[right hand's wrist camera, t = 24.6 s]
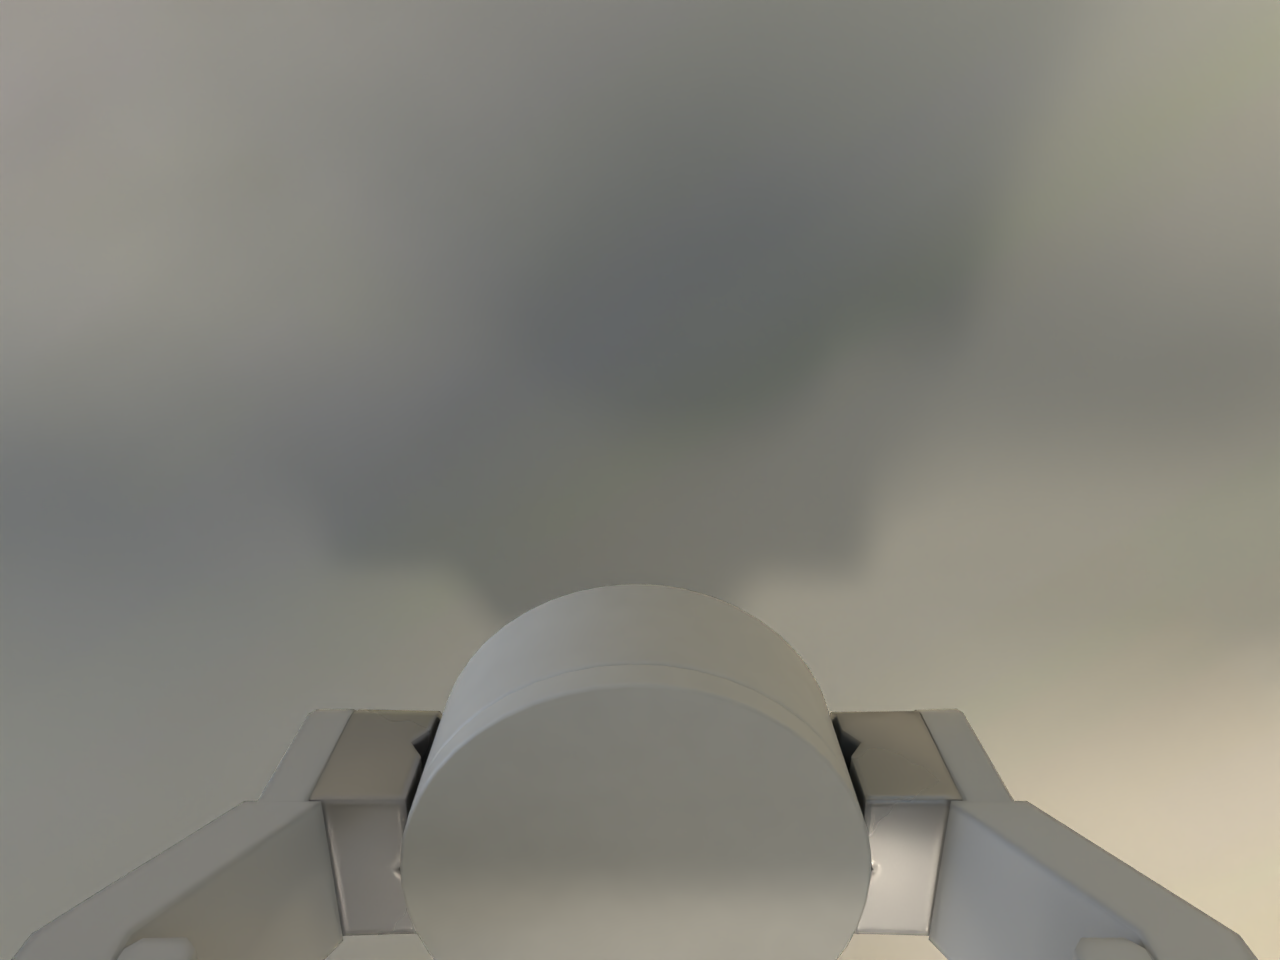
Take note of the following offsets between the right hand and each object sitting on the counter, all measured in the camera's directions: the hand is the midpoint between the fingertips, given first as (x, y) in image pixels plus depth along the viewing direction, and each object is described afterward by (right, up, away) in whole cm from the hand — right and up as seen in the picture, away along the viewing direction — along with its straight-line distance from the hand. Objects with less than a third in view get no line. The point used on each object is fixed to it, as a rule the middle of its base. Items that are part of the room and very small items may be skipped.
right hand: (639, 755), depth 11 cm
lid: (0, -1, -2) cm, 2 cm away
